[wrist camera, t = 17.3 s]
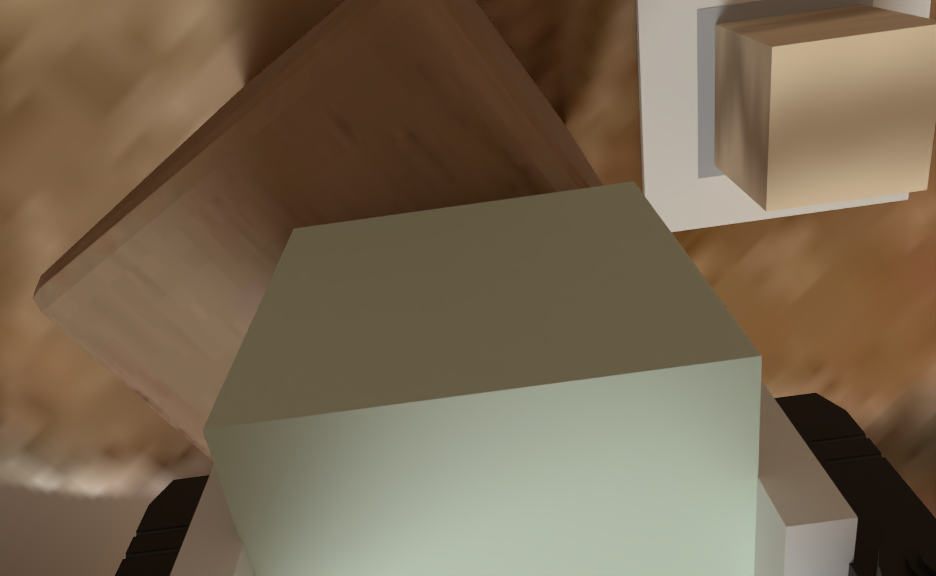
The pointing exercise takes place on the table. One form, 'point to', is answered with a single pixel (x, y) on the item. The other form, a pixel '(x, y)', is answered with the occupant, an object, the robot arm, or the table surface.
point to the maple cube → (825, 105)
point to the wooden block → (302, 186)
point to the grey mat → (706, 108)
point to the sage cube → (493, 399)
